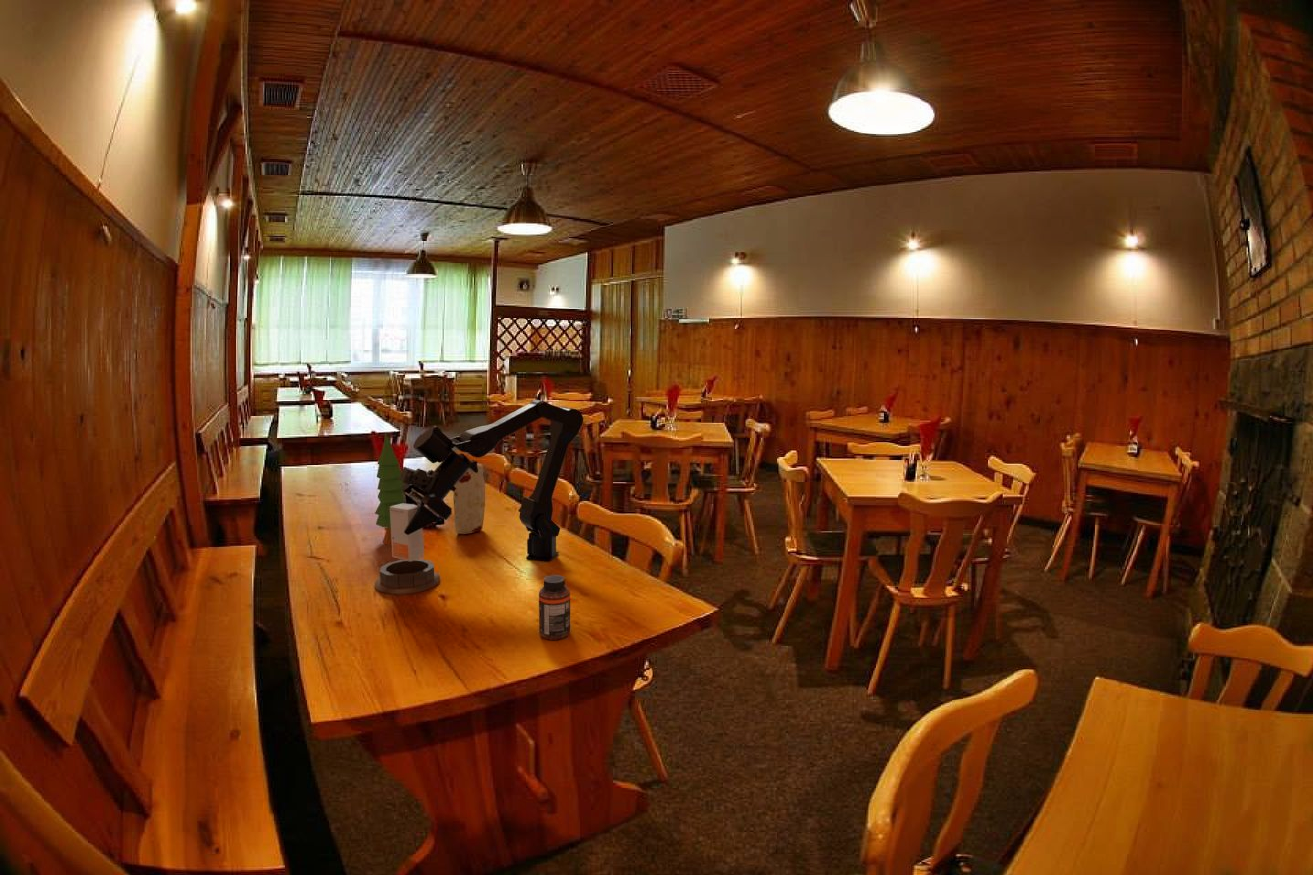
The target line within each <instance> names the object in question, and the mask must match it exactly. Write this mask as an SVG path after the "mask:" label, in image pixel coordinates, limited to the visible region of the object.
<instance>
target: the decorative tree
mask: <svg viewBox="0 0 1313 875" xmlns="http://www.w3.org/2000/svg"><path fill="white" fill-rule="evenodd" d="M376 465H378V469H377V474H376V478H378V479H379V480H378V484H377V490H379V492H378V494H377V498H378V501H379V502H380V503H379V504H378V507H377V508H376V510H375V512H374V515H378V517H377V518H376V523H375V525H376V526H379V527H381V528H387V529H386V532H385V534H384V537H383V539H382V543H383V544H385V545H386V546H388V545H392V542H391V524H390V506H394V505H398V504H402V503H404V499H403V495H402V492H404V491H403V490H402V489H401V487H402V486H403V485H404V484H405V483H403V482H402V480H399V477H400V475H401V472H402V469H401V467H400V461H399V460H398V457H397V455H396V454H395V451H394V449H393V446H392V444H391V441H390V439H389V436H388V435H387V433H386V432H385V433H384V442H383V445H382V449H381V454H380V456H379V458H378V461H377V464H376ZM404 493H405V494H406V492H404Z"/></svg>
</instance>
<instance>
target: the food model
mask: <svg viewBox="0 0 1313 875" xmlns="http://www.w3.org/2000/svg"><path fill="white" fill-rule="evenodd" d="M477 467H478V473H475V472H473V471H471V470H469V469H468V471H467V472H466V473H465V474H464V475H463V476H462V478H461V479H460V480H459V481H458V482H457V484H456V485H455V486H454V487H456V488H457V489H456V490H455V491H454V492H452V493H453V494H452V495H453V497H452V498H453V499H452V500H453V511H454V512H453V514H454V526H455V527H454V528H455V532H456V534H458V535H459V534H460V535H465V534H473V533H477V532H481V531H482V530H483V526H484V520H485V507H486V481H485V472H484V471H485V470H484V466H483V464H481V463H477Z"/></svg>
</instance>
